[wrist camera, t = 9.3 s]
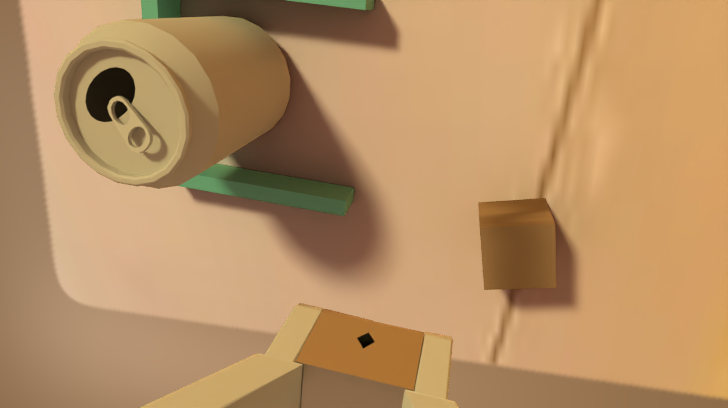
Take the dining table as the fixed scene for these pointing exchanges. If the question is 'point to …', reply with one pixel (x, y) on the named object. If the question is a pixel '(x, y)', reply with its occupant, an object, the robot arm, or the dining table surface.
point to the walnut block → (517, 244)
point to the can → (169, 96)
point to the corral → (257, 184)
